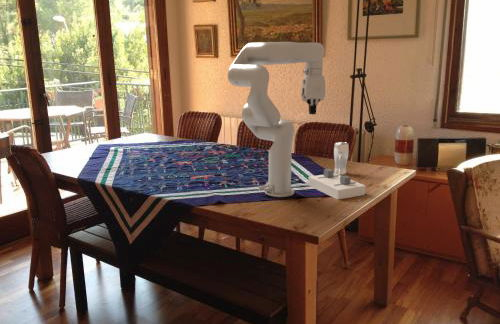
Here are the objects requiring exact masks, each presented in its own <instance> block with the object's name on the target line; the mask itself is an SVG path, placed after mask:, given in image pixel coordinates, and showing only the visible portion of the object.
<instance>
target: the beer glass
mask: <svg viewBox="0 0 500 324" xmlns="http://www.w3.org/2000/svg"><path fill="white" fill-rule="evenodd" d="M333 146H334V147H333V158H334V173H335V174H338V175H340V176H345V175H347V163H348V158H349V149H350V148H349V147H350V146H349V142H346V141H345V142H343V141H337V142H335V143H334V145H333Z"/></svg>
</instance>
